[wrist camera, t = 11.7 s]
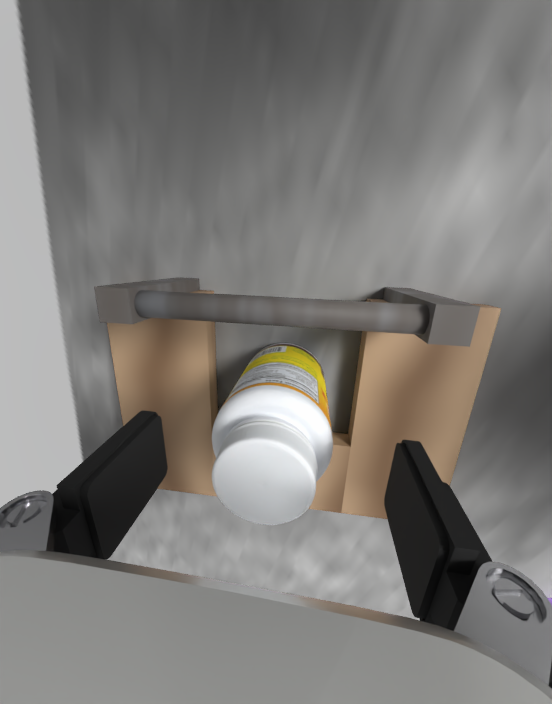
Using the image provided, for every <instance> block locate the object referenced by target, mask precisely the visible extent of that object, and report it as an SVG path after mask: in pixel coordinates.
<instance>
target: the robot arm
mask: <svg viewBox="0 0 552 704" xmlns="http://www.w3.org/2000/svg"><path fill="white" fill-rule="evenodd" d="M167 470H168V466H167V458H166V450H165V443H164V435H163V427H162V419H161V417H160V416H158V414H157V412H153V411H144V410H142V411H140V412H139V413H138V414H136V415H135V416H134V417H133V418H132V419H131V420H130V421H129V422H127V423H126V424H125V425H124V426H123V427H122V428H121V429H120V430H118V431H117V432H116V433H115V434H114V435H113V436H112V437H111V438H109V439H108V440H107V441H106V442H105V443H104V444H103V445H102V446H100V447H99V448H98V449H97V450H96V451H95V452H94V453H93V454H91V455H90V456H89V457H88V458H87V459H86V460H85V461H84V462H82V463H81V464H80V465H79V466H78V467H77V468H76V469H75V470H74V471H72V472H71V473H70V474H69V475H68V476H67V477H66V478H64V479H63V480H62V481H61V482H60V483H59V484H58V485H57V488H58V489H57V490H56V491H55V492H54V493H53V494H51V493H50V492H48V491H34V492H29V493H26V494H24V495H21V496H19V497H17V498H15V499H13V500H11V501H9V502H8V503H7V504H5V505H4V506H2V507H1V508H0V704H552V605H551V603H550V601H549V600H548V599H547V597H546V596H545V594H544V593H543V592H542V590H541V589H540V588H539V587H538V586H537V585H536V584H535V583H534V582H533V581H531V580H530V579H529V578H528V577H526V576H525V575H524V574H522V573H521V572H519V571H517V570H516V569H514V568H512V567H510V566H508V565H505V564H502V563H499V562H492V560H491V558H490V556H489V555H488V553H487V551H486V549H485V547H484V546H483V544H482V542H481V540H480V539H479V537H478V535H477V533H476V532H475V530H474V528H473V526H472V525H471V523H470V521H469V519H468V517H467V516H466V514H465V512H464V510H463V509H462V507H461V505H460V503H459V502H458V500H457V498H456V496H455V494H454V493H453V491H452V489H451V488H450V486H449V485H448V484H447V483H445V482H442V480H441V479H440V477H439V475H438V473H437V471H436V469H435V468H434V466H433V464H432V462H431V460H430V458H429V457H428V455H427V453H426V451H425V449H424V447H423V446H422V444H421V442H419V441H412V440H402V442H401V443H397V444H396V447H395V451H394V456H393V460H392V465H391V470H390V474H389V479H388V483H387V488H386V492H385V497H384V506H385V511H386V514H387V518H388V522H389V526H390V530H391V533H392V537H393V541H394V545H395V549H396V552H397V556H398V560H399V564H400V568H401V572H402V575H403V579H404V583H405V587H406V591H407V594H408V598H409V602H410V606H411V610H412V613H413V615H414V616H415V617H417V618H420V621H418V620H415V619H411V618H407V617H402V616H398V615H393V614H388V613H384V612H379V611H374V610H369V609H365V608H360V607H355V606H351V605H345V604H340V603H335V602H330V601H325V600H320V599H314V598H309V597H304V596H299V595H294V594H289V593H283V592H278V591H273V590H268V589H263V588H257V587H252V586H247V585H241V584H236V583H231V582H225V581H220V580H215V579H209V578H204V577H198V576H193V575H188V574H182V573H177V572H171V571H166V570H160V569H155V568H149V567H144V566H138V565H132V564H127V563H121V562H116V561H110V560H105V559H108V558H109V557H110V556H111V555H112V554H113V552H114V551H115V549H116V548H117V547H118V545H119V544H120V542H121V541H122V539H123V538H124V536H125V535H126V533H127V532H128V530H129V529H130V527H131V526H132V525H133V523H134V522H135V520H136V519H137V517H138V516H139V514H140V513H141V511H142V510H143V508H144V507H145V506H146V504H147V503H148V501H149V500H150V498H151V497H152V495H153V494H154V492H155V491H156V489H157V488H158V487H159V485H160V484H161V482H162V481H163V479H164V478H165V476H166V474H167Z"/></svg>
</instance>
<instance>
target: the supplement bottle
mask: <svg viewBox="0 0 552 704" xmlns="http://www.w3.org/2000/svg"><path fill="white" fill-rule="evenodd" d="M212 445H213V450H214V454H215V456H216V460H215V462H214V465H213V469H212V483H213V488H214V490H215V493H216V495H217V497H218V498H219V500H220V501H221V502H222V504H223V505H224V506H225V507H226V508H227V509H228V510H229V511H231V512H232V513H234V514H235V515H237V516H238V517H240V518H242V519H244V520H247V521H250V522H253V523H257V524H263V525H277V524H283V523H286V522H290V521H292V520H294V519H296V518H298V517H299V516H301V515H302V514H303V513H304V512H305V511H306V510H307V509H308V508H309V507H310V505H311V504H312V501H313V499H314V496H315V491H316V482H317V481H318V480H319V479H320V478H321V476H322V475H323V474H324V472H325V471H326V469H327V467H328V465H329V463H330V460H331V457H332V451H333V438H332V429H331V422H330V415H329V408H328V401H327V394H326V386H325V378H324V374H323V370H322V367H321V365H320V363H319V362H318V360H317V359H316V358H315V357H314V355H312V354H311V353H310V352H309V351H308V350H306V349H304V348H302V347H300V346H298V345H294V344H289V343H278V344H273V345H270V346H267V347H265V348H263V349H262V350H260V351H259V352H258V353H257V354H256V355H255V356H254V357H253V358H252V360H251V361H250V362H249V364H248V366H247V367H246V369H245V370H244V372H243V373H242V375H241V377H240V378H239V380H238V381H237V383H236V385H235V386H234V388H233V389H232V391H231V393H230V394H229V396H228V398H227V399H226V401H225V402H224V404H223V406H222V407H221V409H220V411H219V413H218V415H217V417H216V419H215V422H214V425H213V430H212Z"/></svg>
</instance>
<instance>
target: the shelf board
mask: <svg viewBox="0 0 552 704" xmlns="http://www.w3.org/2000/svg"><path fill="white" fill-rule="evenodd" d="M94 289H95V295H96V301H97V307H98V313H99V319H100V322H104V323H107V327H108V333H109V339H110V346H111V352H112V358H113V365H114V371H115V377H116V384H117V390H118V396H119V403H120V409H121V415H122V422H123V426H124V425H125V424H126V423H127V422H129V421H130V420H131V419H132V418H133V417H134V416H135V415H136V414H138V413H139V412H140V411H142V410H144V411H153V412H157V414H158V416H160V417H161V419H162V427H163V435H164V443H165V450H166V458H167V466H168V470H167V474H166V476H165V478H164V479H163V481H162V482H161V484H160V485H159V487H158V488H157V489H165V490H172V491H180V492H187V493H195V494H203V495H210V496H217V495H216V493H215V490H214V488H213V483H212V469H213V465H214V462H215V460H216V456H215V454H214V450H213V445H212V430H213V425H214V422H215V419H216V417H217V415H218V401H217V371H216V342H215V322H227V323H242V324H258V325H274V326H290V327H306V328H322V329H338V330H354V331H362V336H361V343H360V351H359V358H358V365H357V372H356V380H355V387H354V394H353V402H352V409H351V416H350V423H349V431H348V434H343V433H334V432H332V438H333V451H332V457H331V460H330V463H329V465H328V467H327V469H326V471H325V472H324V474H323V475H322V476H321V478H320V479H319V480H318V481H317V482H316V491H315V496H314V499H313V501H312V504H311V505H310V507H309V508H308V509H315V510H323V511H331V512H338V513H346V514H353V515H361V516H368V517H376V518H383V519H388V518H387V514H386V511H385V506H384V497H385V492H386V488H387V483H388V479H389V474H390V470H391V465H392V460H393V456H394V451H395V447H396V444H397V443H401V442H402V440H412V441H419V442H421V444H422V446H423V447H424V449H425V451H426V453H427V455H428V457H429V458H430V460H431V462H432V464H433V466H434V468H435V469H436V471H437V473H438V475H439V477H440V479H441V480H442V482H445V483H447V484H448V485H449V486H450V483H451V479H452V476H453V473H454V469H455V466H456V462H457V459H458V455H459V452H460V449H461V445H462V442H463V438H464V435H465V431H466V428H467V425H468V421H469V418H470V414H471V411H472V407H473V404H474V401H475V397H476V394H477V390H478V387H479V383H480V380H481V377H482V373H483V370H484V366H485V363H486V359H487V356H488V353H489V349H490V346H491V342H492V339H493V335H494V332H495V329H496V325H497V322H498V318H499V315H500V311H501V308H497V307H493V306H489V305H483V304H469V303H465V302H461V301H457V300H453V299H449V298H445V297H441V296H438V295H434V294H430V293H426V292H422V291H418V290H414V289H410V288H390V287H385V290H384V296H383V299H367V300H366V302H362V301H343V300H323V299H304V298H285V297H265V296H246V295H227V294H214V291H206V290H199V279H195V278H170V279H161V280H152V281H142V282H133V283H124V284H115V285H105V286H96V287H94Z"/></svg>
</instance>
